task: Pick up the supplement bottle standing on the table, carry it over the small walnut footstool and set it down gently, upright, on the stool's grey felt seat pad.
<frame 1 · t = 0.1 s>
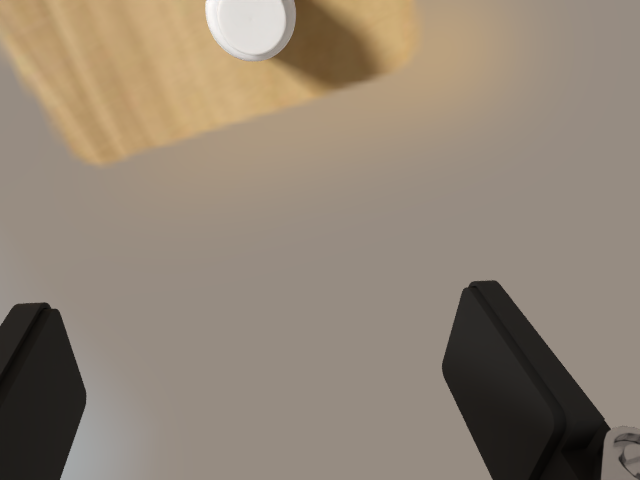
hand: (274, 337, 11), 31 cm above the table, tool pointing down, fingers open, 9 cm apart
supplement bottle: (249, 2, 34), on the table
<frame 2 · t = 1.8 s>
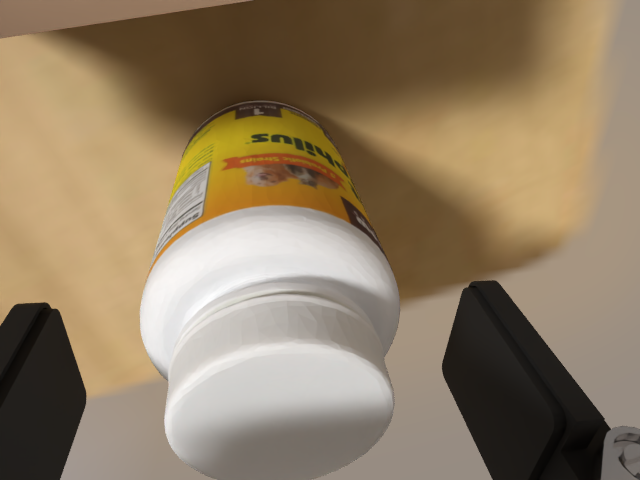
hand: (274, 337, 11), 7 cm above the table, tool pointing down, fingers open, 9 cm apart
supplement bottle: (262, 169, 16), on the table
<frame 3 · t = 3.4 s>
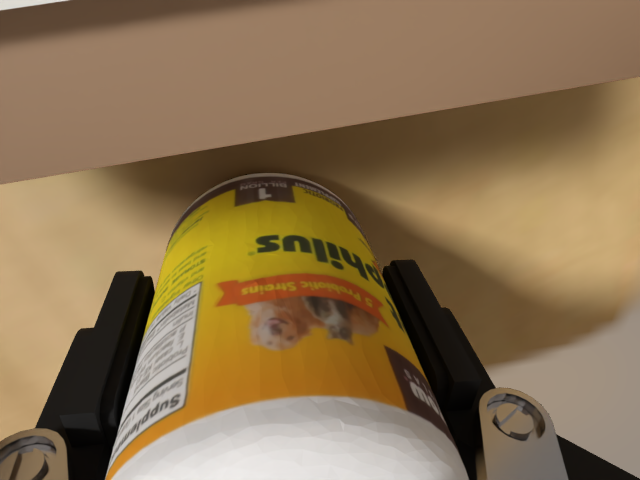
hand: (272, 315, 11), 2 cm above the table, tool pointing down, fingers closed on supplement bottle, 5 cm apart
supplement bottle: (267, 247, 13), on the table, touching gripper
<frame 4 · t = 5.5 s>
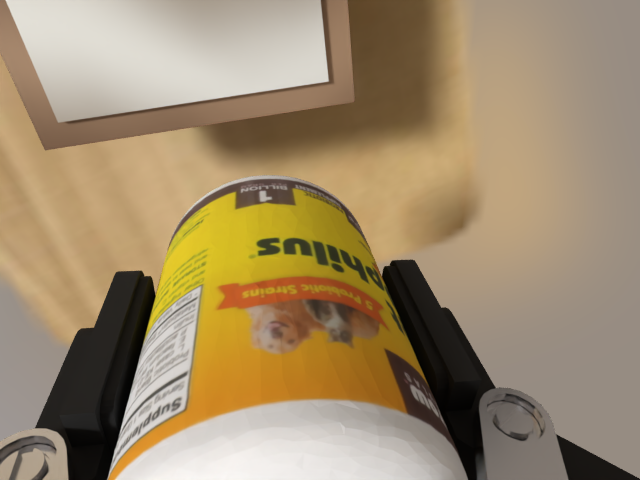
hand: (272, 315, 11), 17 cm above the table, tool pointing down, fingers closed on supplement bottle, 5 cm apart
supplement bottle: (267, 249, 13), point 14 cm above the table, touching gripper
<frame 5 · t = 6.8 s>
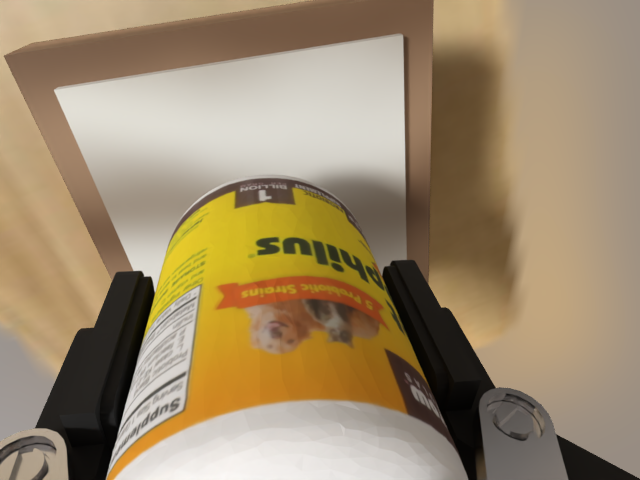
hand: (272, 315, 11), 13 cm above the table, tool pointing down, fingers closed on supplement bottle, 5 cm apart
footstool: (258, 131, 22), on the table
supplement bottle: (267, 248, 13), point 11 cm above the table, touching gripper
when the fingers open (12 cm above the table, at t = 7.9 s): supplement bottle drops 1 cm, resting on footstool.
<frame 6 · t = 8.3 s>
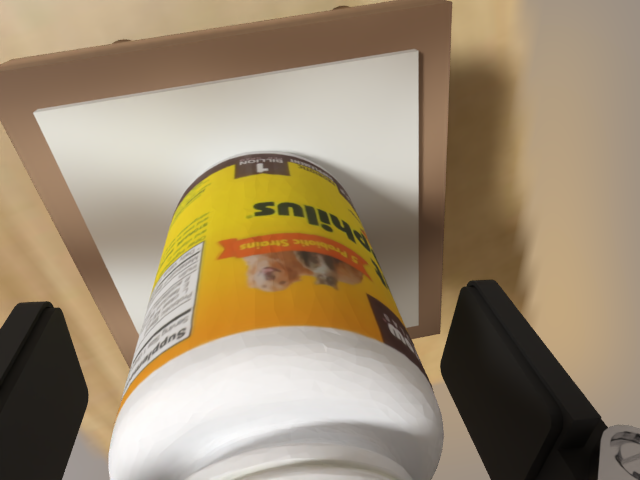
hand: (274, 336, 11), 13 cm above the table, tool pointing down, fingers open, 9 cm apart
footstool: (258, 147, 21), on the table
supplement bottle: (265, 223, 14), point 8 cm above the table, touching footstool
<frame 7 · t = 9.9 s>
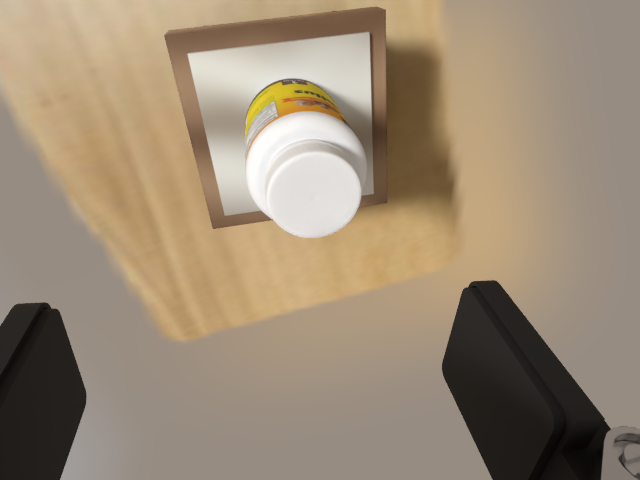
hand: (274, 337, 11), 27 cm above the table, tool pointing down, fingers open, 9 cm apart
footstool: (280, 96, 34), on the table
supplement bottle: (291, 121, 27), point 8 cm above the table, touching footstool
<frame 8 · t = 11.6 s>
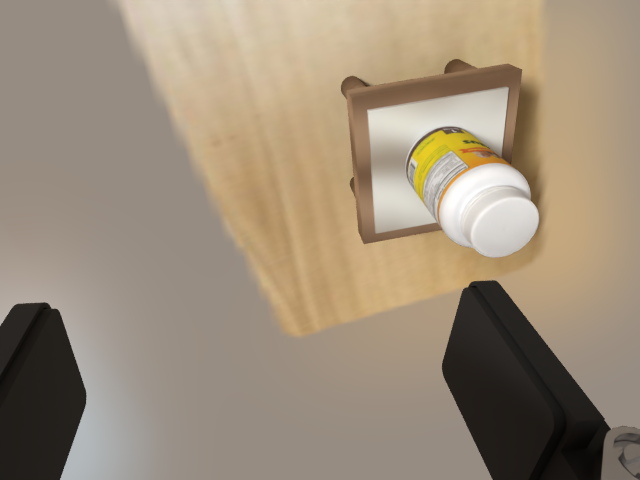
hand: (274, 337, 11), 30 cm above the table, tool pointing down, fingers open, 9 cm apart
footstool: (404, 129, 41), on the table
supplement bottle: (437, 158, 34), point 8 cm above the table, touching footstool
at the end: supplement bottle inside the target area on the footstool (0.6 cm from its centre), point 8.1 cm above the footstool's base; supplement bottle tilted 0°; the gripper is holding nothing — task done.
